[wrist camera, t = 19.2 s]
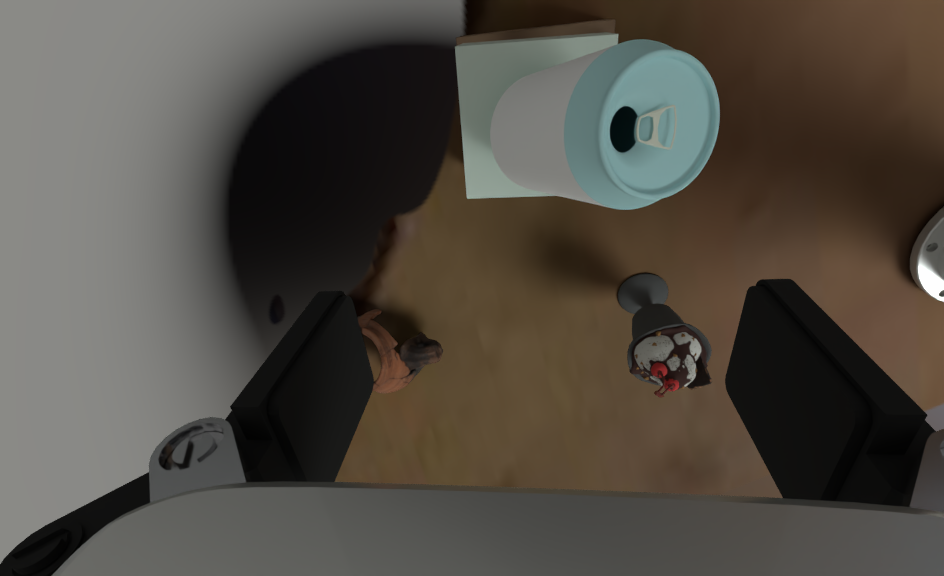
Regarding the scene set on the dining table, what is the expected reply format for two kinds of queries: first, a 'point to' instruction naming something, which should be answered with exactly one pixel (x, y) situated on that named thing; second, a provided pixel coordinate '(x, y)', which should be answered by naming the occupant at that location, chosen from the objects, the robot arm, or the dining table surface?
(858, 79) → the dining table surface
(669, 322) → the sundae
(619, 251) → the dining table surface
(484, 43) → the sage top block
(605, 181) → the can
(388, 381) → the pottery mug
